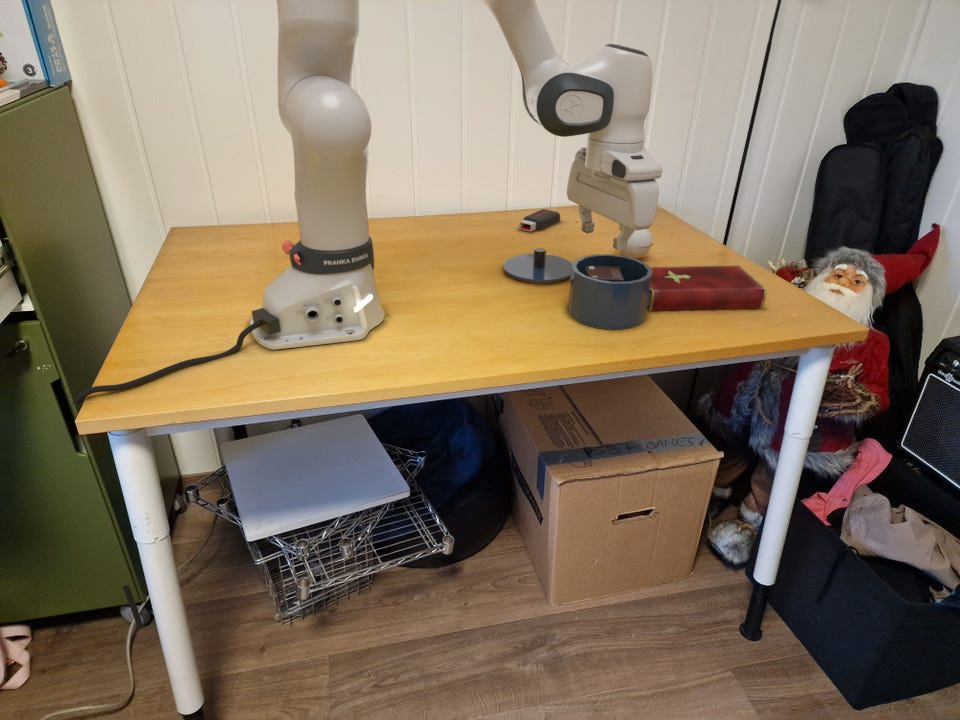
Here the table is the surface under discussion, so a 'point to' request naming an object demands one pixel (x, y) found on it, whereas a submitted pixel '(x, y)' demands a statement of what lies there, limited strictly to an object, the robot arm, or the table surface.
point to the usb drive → (539, 220)
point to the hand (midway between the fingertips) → (602, 240)
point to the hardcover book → (704, 289)
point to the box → (605, 273)
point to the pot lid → (538, 267)
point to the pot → (610, 293)
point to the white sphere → (638, 244)
